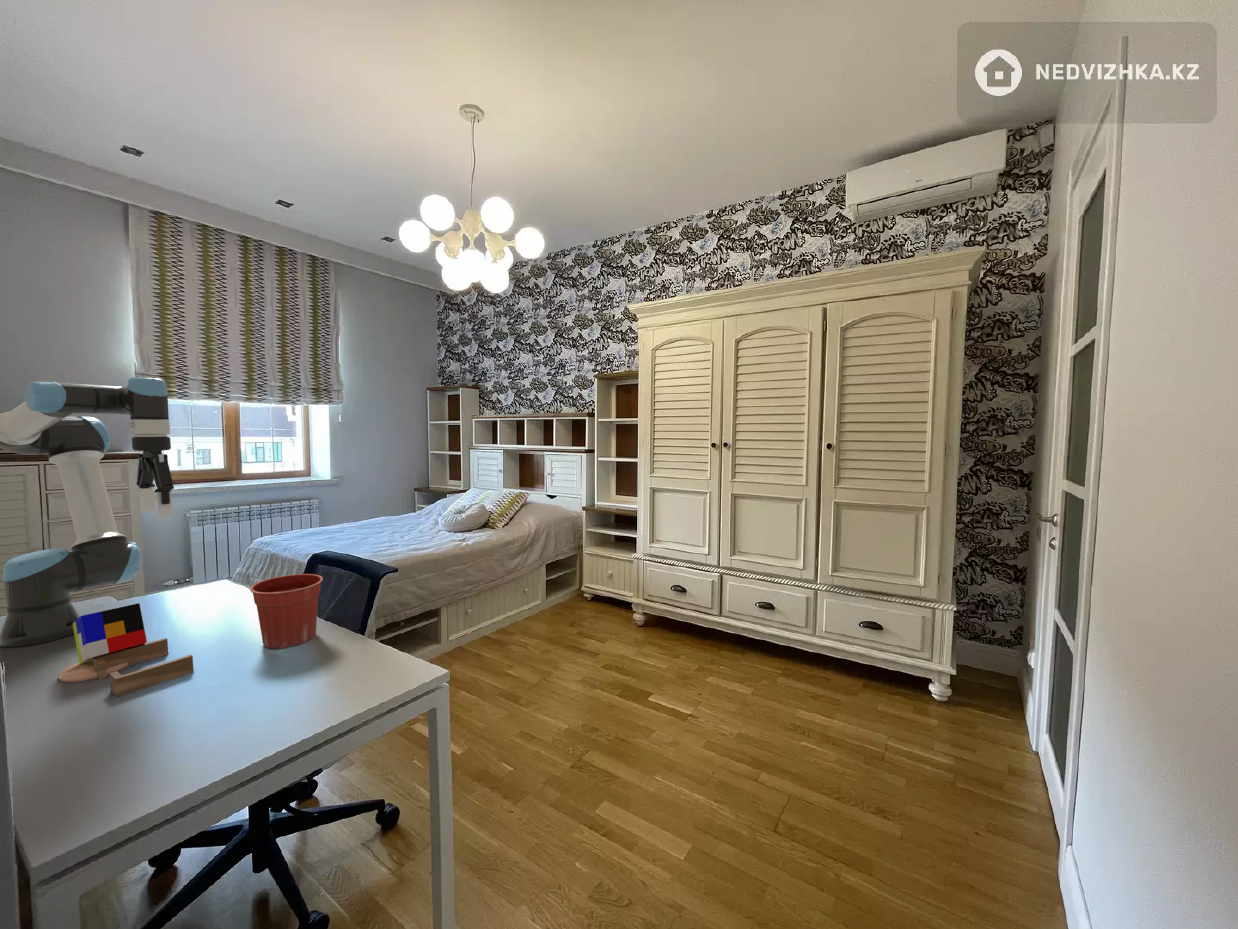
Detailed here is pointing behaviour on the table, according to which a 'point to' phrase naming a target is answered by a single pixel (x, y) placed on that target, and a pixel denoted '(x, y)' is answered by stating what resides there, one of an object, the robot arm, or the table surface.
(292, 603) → the flower pot
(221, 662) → the table surface
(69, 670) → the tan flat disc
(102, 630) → the puzzle toy
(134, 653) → the pocket frame
